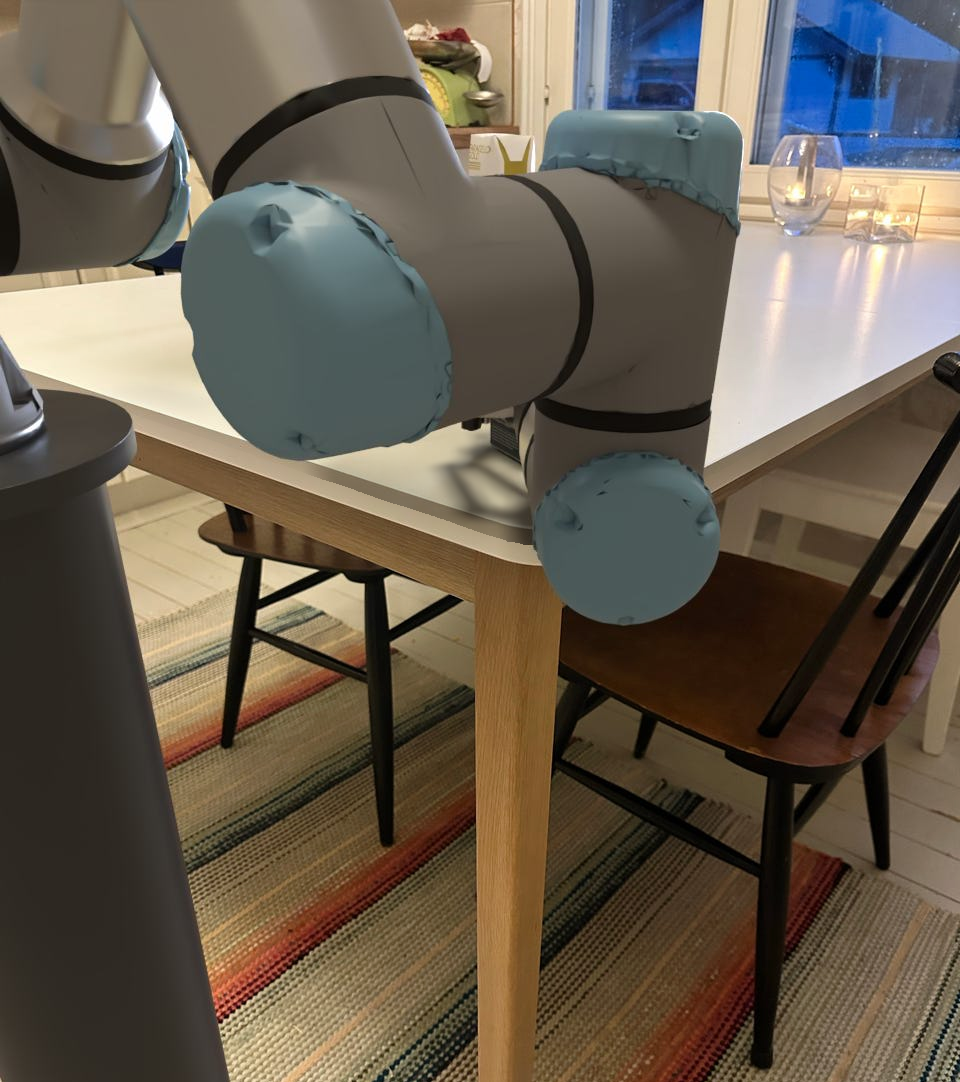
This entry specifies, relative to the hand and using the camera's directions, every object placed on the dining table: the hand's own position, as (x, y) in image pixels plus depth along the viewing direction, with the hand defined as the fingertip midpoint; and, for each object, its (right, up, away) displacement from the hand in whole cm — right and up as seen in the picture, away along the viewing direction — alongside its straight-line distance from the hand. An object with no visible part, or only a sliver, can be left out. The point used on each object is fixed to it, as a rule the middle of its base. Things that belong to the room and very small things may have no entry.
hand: (549, 346), depth 69 cm
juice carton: (-2, +28, +62) cm, 68 cm away
